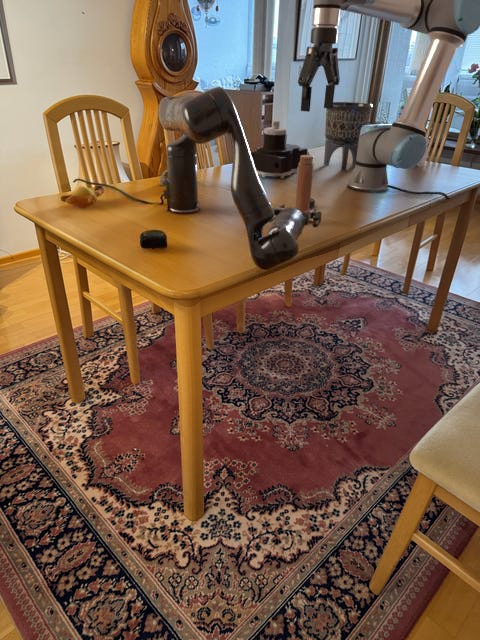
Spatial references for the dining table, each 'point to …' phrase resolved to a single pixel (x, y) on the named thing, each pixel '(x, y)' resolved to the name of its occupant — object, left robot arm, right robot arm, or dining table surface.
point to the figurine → (424, 155)
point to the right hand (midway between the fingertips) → (316, 109)
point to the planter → (345, 129)
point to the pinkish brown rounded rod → (304, 182)
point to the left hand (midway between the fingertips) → (298, 209)
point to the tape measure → (153, 239)
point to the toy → (83, 196)
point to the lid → (312, 203)
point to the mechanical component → (277, 153)
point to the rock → (164, 177)
